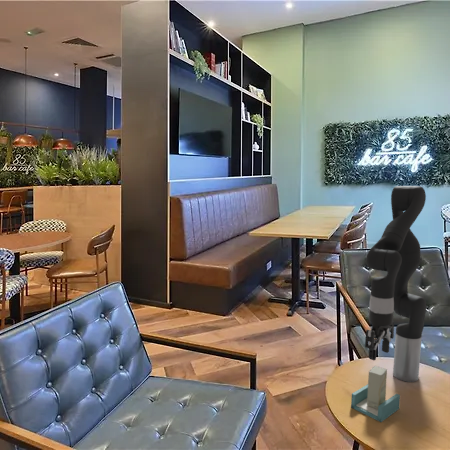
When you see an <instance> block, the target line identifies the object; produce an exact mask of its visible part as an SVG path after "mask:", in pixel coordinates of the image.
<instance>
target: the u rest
mask: <svg viewBox="0 0 450 450" xmlns="http://www.w3.org/2000/svg"><path fill="white" fill-rule="evenodd" d="M367 396H368V383H367V384H366V385H364V386H363V387H361V388H359V389H357V390H355V391H354V392H352V393H351V401H350V402H351V403H350V404H351V405H350V408H351V409H353V410H355V411H357V412H359V413H361V414H364V415H366V416H367V417H370V418H371V419H374V420H375V421H378V422H380V423H382V422H384V421H385V420H386V419H388V418H389V417H390V416H391V415H393V414H394V413H396V412H397V411H399V410H400V401H401V399H400V398H401V395H400V394H398V393H395V394H393V395H392V396H391V397H390V398H388V399H385V402H384V403H382V404H381V405H379V406H378V409H375V408H373V407H370V406H367Z"/></svg>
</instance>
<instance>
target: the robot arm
mask: <svg viewBox="0 0 450 450" xmlns="http://www.w3.org/2000/svg"><path fill="white" fill-rule="evenodd" d="M426 197H427V195H426V191H425V188H424V187H423V186H420V185H397V186H396V185H395V186H394V187H393V189H392V190H391V194H390V204H391V205H390V206H391V214H392V220H391V221H390V222H389V223H388V224H387V225H386V226H385V228H384V230H383V232H382V235H381V238H380V239H378V241H376V243H375V244H374V245H373V246H372V247H371V248H370V249H369V250H368V252H367V254H366V258H365V260H366V262H365V263H366V265H367V267H368V268H370V269H371V270H375V271H381V272H387V274H386V275H385V276H374V277H373V278H372V279H371V284H370V297H369V304H368V305H369V308H368V322H369V323H370V324H371V329H366V331H365V342H364V347H365V348H366V349H368V359H369V360H371V361H376V359H377V348H378V345H380V344H381V343H382V345H381V351H382V352H384V353H386V354H387V353H389V352H390V342H392V339H395V341H394V352H393V353H394V355H393V356H394V357H393V367H392V375H393V377H394V378H396V379H397V380H400V381H403V382H407V383H408V382H409V383H414V382H417V381H418V380H419V374H420V362H421V351H422V350H421V348H422V336H423V331H424V327H425V318H426V313H427V312H426V311H427V302H426V300H425V298H424V297H423V296H419V295H416V294H413V293H410V292H409V291H408V286H409V282H410V280H411V277H412V276H413V275H414V274H415V272H416V271H417V270H418V268H419V266H420V264H421V244H420V241H419V240H418V238H417V237H416V235H415V234H414V233H413V231H412V229H411V227H412V225H413V224H414V223H415V221H416V220H417V218H418V217H419V216H420V214H421V212H422V211H423V209H424V206H425V204H426V201H427V200H426V199H427V198H426ZM394 314H396V315H399V316H400V317H404V318H407V319H409V320H408V323H400V324H398V325H397V326H396V328H395V322H394ZM394 331H395V332H394ZM394 334H395V335H394Z"/></svg>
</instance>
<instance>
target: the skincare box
mask: <svg viewBox="0 0 450 450" xmlns="http://www.w3.org/2000/svg"><path fill="white" fill-rule="evenodd" d="M387 370H388V369H387V368H384V367H380V366H377V365H374V366H372V367H371V369H370V370H369V371H368V381H367V384H368V396H367V406H370V407H373V408H375V409H378V406H379V405H381V404H382V403H384V402H385V400H386V395H387V393H386V391H387V374H388V373H387V372H388V371H387Z"/></svg>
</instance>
